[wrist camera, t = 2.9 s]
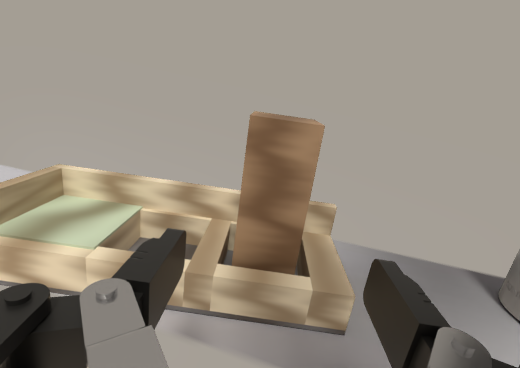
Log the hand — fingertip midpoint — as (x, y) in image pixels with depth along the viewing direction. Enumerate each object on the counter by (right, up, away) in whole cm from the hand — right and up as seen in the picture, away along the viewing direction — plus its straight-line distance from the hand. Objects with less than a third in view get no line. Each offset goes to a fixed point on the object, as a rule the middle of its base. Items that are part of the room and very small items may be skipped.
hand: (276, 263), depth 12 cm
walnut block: (-1, -5, +13) cm, 14 cm away
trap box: (-8, -4, +13) cm, 16 cm away
